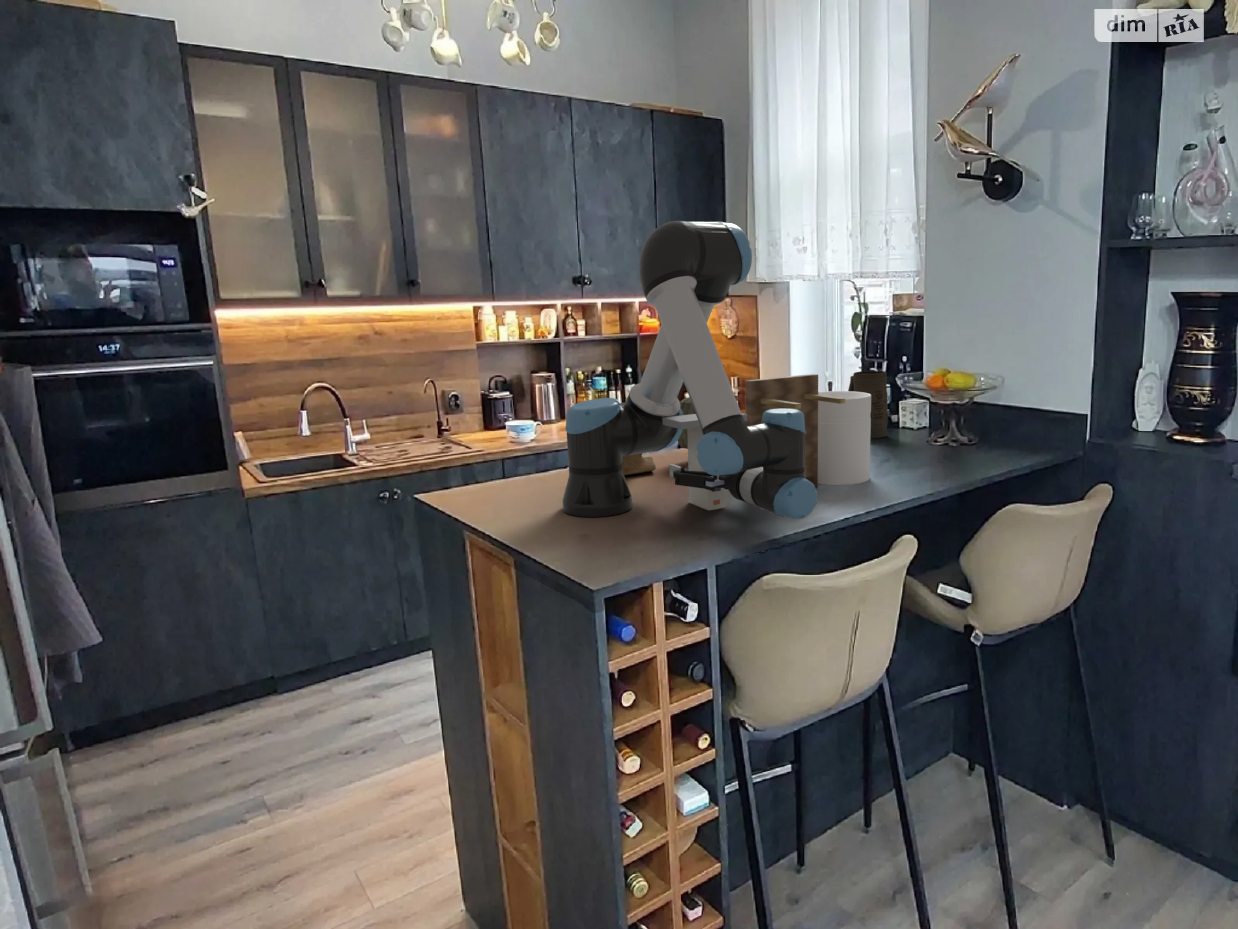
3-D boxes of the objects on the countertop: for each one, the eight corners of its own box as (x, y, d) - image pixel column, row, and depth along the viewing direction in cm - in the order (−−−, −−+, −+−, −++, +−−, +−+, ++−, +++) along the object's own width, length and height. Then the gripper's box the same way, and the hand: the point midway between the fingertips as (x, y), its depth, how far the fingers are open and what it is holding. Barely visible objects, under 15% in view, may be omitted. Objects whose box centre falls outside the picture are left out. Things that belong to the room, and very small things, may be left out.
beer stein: (896, 435, 244) (895, 369, 241) (871, 440, 239) (869, 372, 236) (858, 433, 257) (856, 370, 254) (834, 437, 252) (831, 373, 249)
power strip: (684, 514, 167) (681, 422, 163) (665, 506, 174) (662, 417, 170) (748, 503, 173) (747, 414, 169) (727, 496, 180) (726, 410, 177)
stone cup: (611, 482, 199) (608, 422, 196) (595, 473, 210) (592, 417, 207) (666, 475, 205) (665, 416, 202) (647, 467, 216) (645, 411, 213)
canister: (787, 478, 195) (787, 396, 191) (827, 467, 205) (827, 389, 201) (843, 488, 183) (844, 401, 179) (882, 476, 193) (884, 393, 189)
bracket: (784, 510, 166) (784, 385, 161) (737, 493, 183) (735, 379, 177) (853, 498, 174) (855, 378, 169) (801, 482, 190) (801, 372, 185)
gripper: (699, 512, 152) (648, 490, 171) (805, 494, 162) (746, 475, 181) (698, 474, 150) (646, 456, 169) (805, 458, 160) (745, 443, 179)
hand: (698, 466), depth 175 cm, fingers open, 13 cm apart
